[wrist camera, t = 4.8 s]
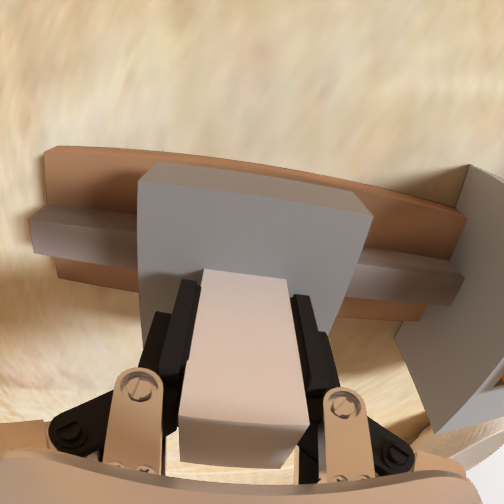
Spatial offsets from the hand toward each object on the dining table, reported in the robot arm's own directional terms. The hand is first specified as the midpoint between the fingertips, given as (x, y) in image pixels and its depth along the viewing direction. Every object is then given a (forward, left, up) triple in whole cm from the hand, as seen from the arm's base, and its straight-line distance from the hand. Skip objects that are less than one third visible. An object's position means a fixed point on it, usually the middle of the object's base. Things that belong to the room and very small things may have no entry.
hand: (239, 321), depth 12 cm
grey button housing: (0, +17, -7) cm, 18 cm away
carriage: (0, 0, -5) cm, 5 cm away
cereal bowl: (+24, +31, -8) cm, 40 cm away
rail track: (0, +1, -7) cm, 7 cm away
